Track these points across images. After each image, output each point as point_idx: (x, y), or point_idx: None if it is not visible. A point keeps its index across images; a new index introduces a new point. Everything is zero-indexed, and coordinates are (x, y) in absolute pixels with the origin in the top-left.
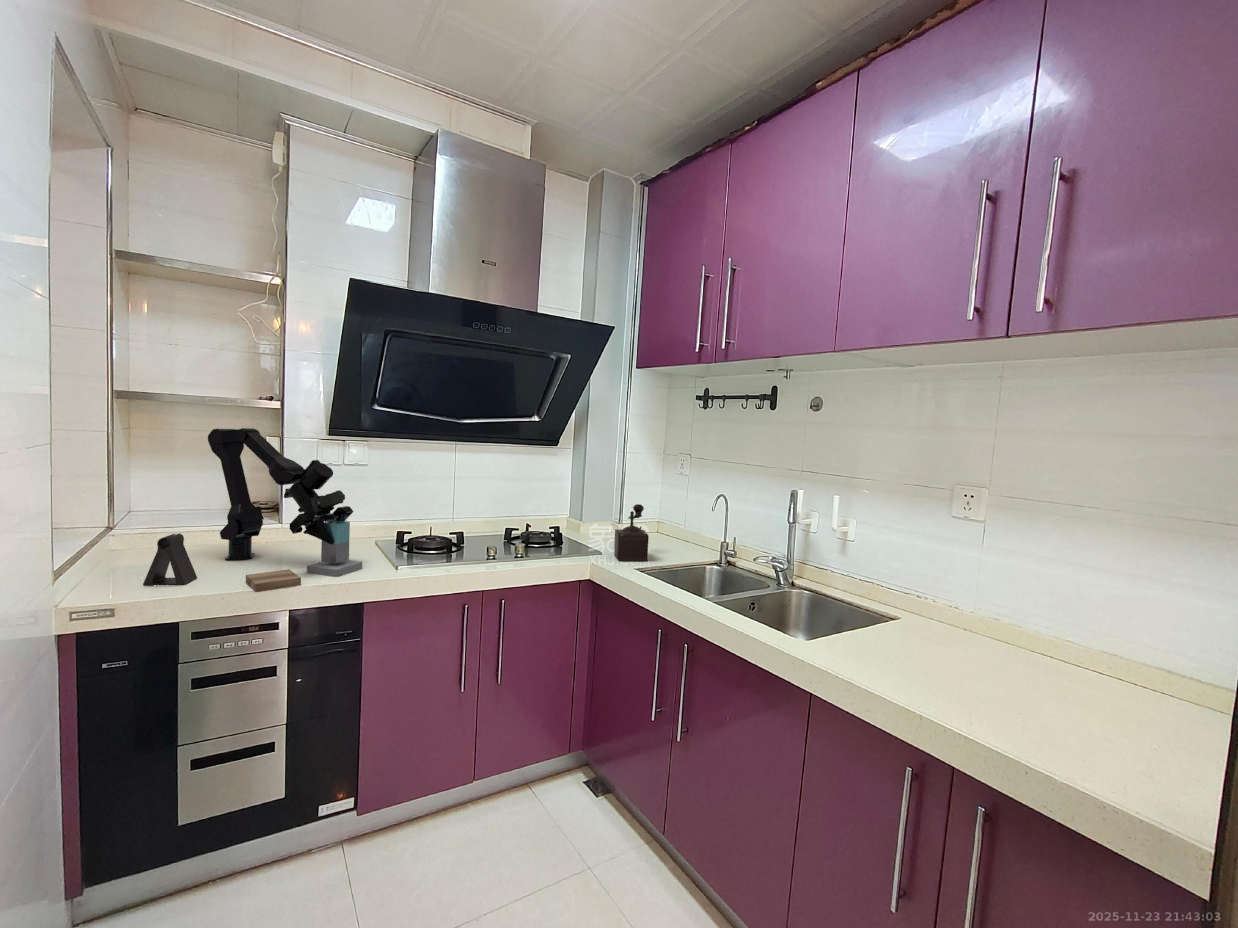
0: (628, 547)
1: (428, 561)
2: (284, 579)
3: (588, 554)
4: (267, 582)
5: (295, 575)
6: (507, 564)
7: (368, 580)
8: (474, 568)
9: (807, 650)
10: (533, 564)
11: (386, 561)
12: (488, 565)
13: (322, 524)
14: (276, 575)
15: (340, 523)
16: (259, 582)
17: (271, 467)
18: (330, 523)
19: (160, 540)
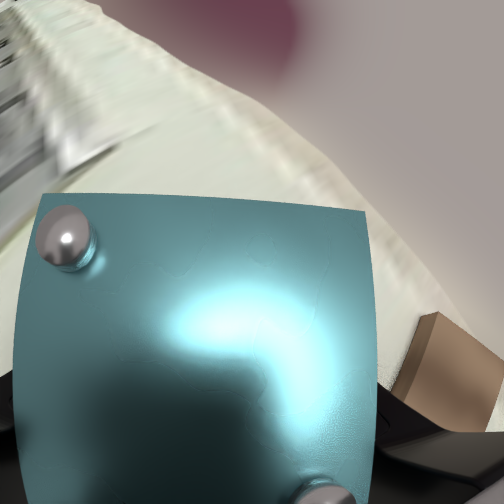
0: None
1: (12, 135)
2: (467, 338)
3: (8, 12)
4: (493, 353)
5: (430, 352)
6: (54, 25)
7: (278, 153)
8: (84, 37)
9: None
10: (57, 10)
11: (13, 249)
12: (59, 36)
13: (423, 450)
14: (448, 406)
15: (243, 229)
16: (499, 369)
17: None
18: (345, 392)
19: None
